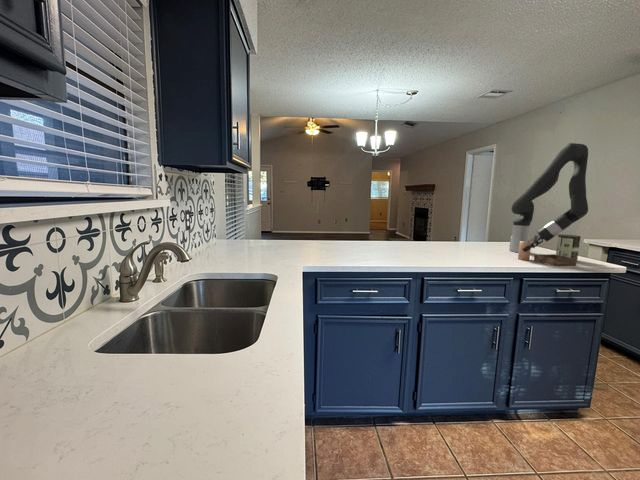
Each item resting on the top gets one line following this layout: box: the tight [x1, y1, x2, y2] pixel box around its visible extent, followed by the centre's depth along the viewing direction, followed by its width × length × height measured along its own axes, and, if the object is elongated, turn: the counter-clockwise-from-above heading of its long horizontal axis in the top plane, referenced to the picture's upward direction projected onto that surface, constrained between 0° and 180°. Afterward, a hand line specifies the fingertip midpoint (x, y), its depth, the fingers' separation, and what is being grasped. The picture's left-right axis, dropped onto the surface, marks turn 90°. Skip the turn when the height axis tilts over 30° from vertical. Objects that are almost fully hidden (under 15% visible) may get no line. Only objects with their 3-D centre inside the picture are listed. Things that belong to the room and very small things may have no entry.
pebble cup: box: [517, 241, 532, 261], centre depth 180 cm, size 6×6×10 cm
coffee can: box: [555, 233, 582, 262], centre depth 181 cm, size 10×10×14 cm
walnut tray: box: [533, 253, 578, 267], centre depth 172 cm, size 13×13×4 cm
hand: (522, 249), depth 181 cm, fingers open, 8 cm apart
